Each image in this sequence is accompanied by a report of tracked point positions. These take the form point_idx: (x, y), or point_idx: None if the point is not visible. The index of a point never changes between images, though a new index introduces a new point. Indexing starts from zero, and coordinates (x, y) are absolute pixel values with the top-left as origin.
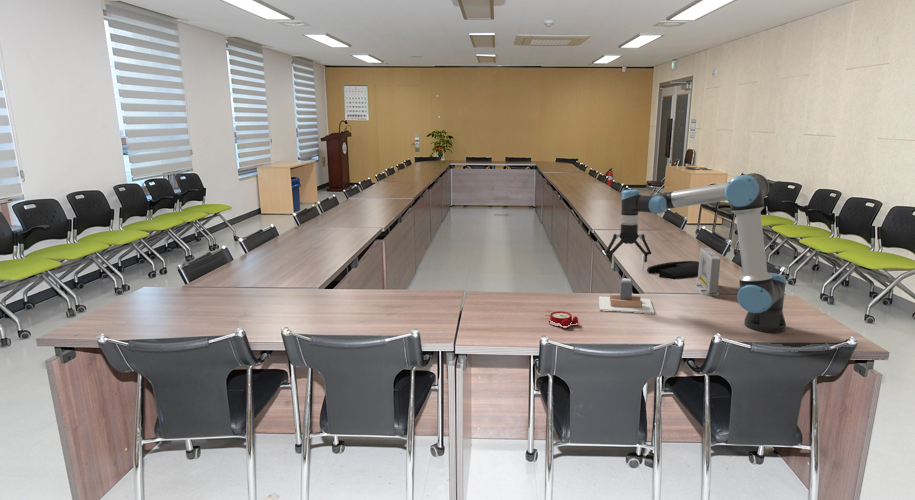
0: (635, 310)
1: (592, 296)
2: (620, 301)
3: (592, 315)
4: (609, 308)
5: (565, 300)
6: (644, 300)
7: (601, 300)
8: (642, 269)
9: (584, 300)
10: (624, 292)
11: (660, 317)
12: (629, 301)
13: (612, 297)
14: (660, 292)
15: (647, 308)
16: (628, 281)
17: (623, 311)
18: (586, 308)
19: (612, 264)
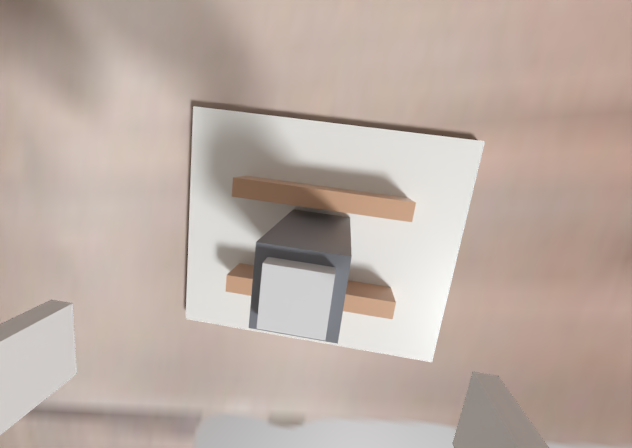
0: (285, 128)
1: (455, 385)
2: (356, 193)
3: (542, 58)
4: (423, 155)
5: (629, 325)
6: (213, 296)
7: (434, 296)
8: (69, 303)
9: (516, 324)
10: (325, 231)
11: (176, 57)
12: (304, 187)
13: (380, 293)
14: (130, 427)
15: (218, 167)
16: (285, 263)
17: (350, 125)
18: (543, 188)
19: (530, 436)
